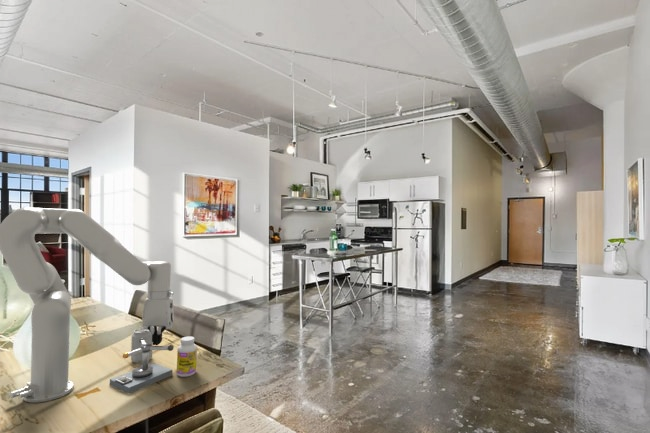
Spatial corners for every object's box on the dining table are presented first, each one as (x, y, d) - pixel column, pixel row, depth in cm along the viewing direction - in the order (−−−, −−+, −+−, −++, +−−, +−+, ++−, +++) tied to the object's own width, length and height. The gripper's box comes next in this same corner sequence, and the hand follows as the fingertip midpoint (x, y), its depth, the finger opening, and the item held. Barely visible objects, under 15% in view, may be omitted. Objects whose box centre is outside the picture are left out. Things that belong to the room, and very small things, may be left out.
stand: (128, 394, 112) (128, 382, 112) (109, 385, 117) (109, 373, 117) (172, 375, 126) (172, 364, 126) (153, 367, 131) (153, 357, 131)
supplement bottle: (175, 378, 123) (176, 342, 123) (178, 370, 130) (178, 336, 130) (195, 376, 125) (196, 340, 125) (196, 368, 131) (197, 334, 131)
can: (143, 364, 134) (144, 333, 134) (126, 362, 135) (127, 331, 135) (156, 357, 141) (157, 327, 141) (140, 355, 142) (141, 326, 143)
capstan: (142, 362, 131) (142, 336, 131) (174, 371, 124) (175, 344, 124) (106, 376, 118) (107, 348, 118) (139, 387, 111) (140, 358, 111)
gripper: (182, 293, 133) (181, 341, 133) (143, 292, 133) (141, 339, 133) (174, 297, 125) (172, 348, 125) (133, 296, 125) (131, 347, 125)
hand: (156, 343), depth 129 cm, fingers closed
